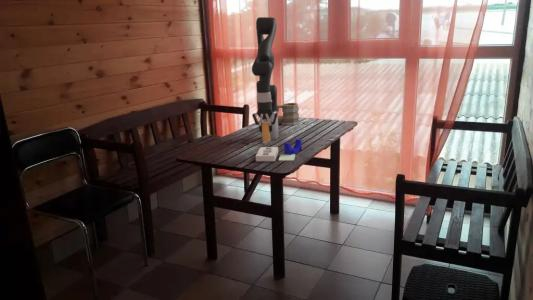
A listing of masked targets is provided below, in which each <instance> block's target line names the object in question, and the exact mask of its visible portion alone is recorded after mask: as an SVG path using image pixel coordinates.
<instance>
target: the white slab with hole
mask: <svg viewBox="0 0 533 300" xmlns="http://www.w3.org/2000/svg"><path fill="white" fill-rule="evenodd" d="M278 154H279V147H278V146H273V147H271V146H269V147H267V146H266V147H265V146H264V147H262V146H261V147H259V150H258V151H257V152H256V154H255V162H275V161H276V160H277V157H278Z"/></svg>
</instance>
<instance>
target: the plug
mask: <svg viewBox="0 0 533 300" xmlns="http://www.w3.org/2000/svg"><path fill="white" fill-rule="evenodd" d="M261 135H262V137H261V138H262V142H264V143H268V142H271V140H270V132H269V122H263V121H262V132H261Z"/></svg>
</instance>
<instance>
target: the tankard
mask: <svg viewBox="0 0 533 300" xmlns="http://www.w3.org/2000/svg"><path fill="white" fill-rule="evenodd" d="M298 105H299V104H298V103H297V102H286V103H283V104H282V105H279V104H277V112H278V113H279V112H280V109H281V111H282V116H281V117H282V118H279V117H278V123H279V122H280V123H281V125H283V126H287V127H288V126H289V127H290V126H291V127H292V126H297V125H300V124H301V120H300V119H299V117H300V113H299V110H300V107H299V106H298Z"/></svg>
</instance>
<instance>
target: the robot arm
mask: <svg viewBox="0 0 533 300" xmlns="http://www.w3.org/2000/svg"><path fill="white" fill-rule="evenodd" d="M255 29H256V39H257V54H256V58H255V60H254V61H253V64H252V66H251V73H252V74H253V75H254V76H255V77H256V76H257V77H258V79H259V80H258V81H257V82H256V105H257V107H256V108H257V111H256V112H254V113H252V114H251V116H252V118H253V122H254V123H255V125H258V129H259V132H260V133H262V122H269V132H270V141H274V140H278V139H279V138H280V135H279V134H280V133H279V122H278V118H279V116H278V114H279V112H277V105H278V88H277V86H276V84H271V78H272V74H273V69H274V67H275V55H274V53H273V51H272V47H273V43H274V39H275V36H276V32H277V20H276V18H275V17H272V16H271V17H270V16H269V17H267V16H264V17H257V18H256V21H255ZM264 35H267V36H266V37H265V38H264ZM258 117H259V120H258Z"/></svg>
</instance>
